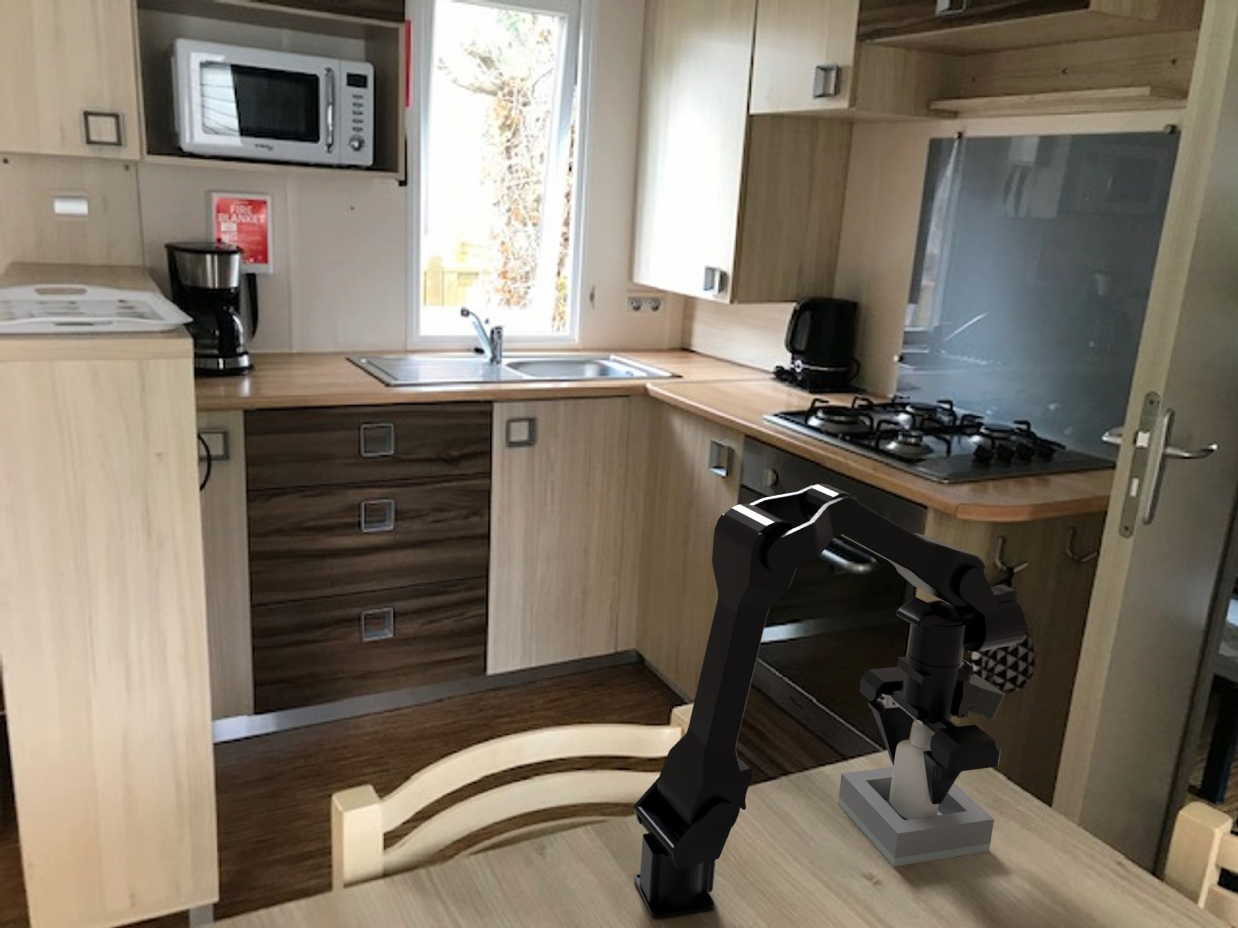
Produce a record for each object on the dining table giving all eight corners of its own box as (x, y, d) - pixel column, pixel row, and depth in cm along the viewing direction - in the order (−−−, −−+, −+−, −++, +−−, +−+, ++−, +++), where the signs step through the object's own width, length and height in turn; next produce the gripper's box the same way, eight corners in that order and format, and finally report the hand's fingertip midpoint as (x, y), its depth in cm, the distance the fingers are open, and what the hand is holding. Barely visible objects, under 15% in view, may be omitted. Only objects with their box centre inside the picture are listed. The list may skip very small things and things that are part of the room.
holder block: (893, 866, 108) (897, 833, 107) (838, 803, 119) (841, 773, 118) (989, 851, 111) (994, 818, 110) (926, 791, 122) (930, 761, 121)
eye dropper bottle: (923, 799, 117) (936, 704, 114) (939, 827, 112) (953, 729, 109) (886, 797, 117) (898, 702, 114) (900, 826, 112) (913, 727, 109)
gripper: (1055, 688, 104) (1031, 823, 107) (947, 618, 121) (930, 736, 125) (961, 697, 100) (941, 836, 104) (864, 624, 118) (850, 745, 121)
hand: (916, 784), depth 114 cm, fingers closed on eye dropper bottle, 7 cm apart
